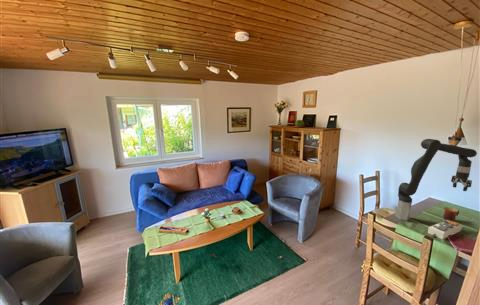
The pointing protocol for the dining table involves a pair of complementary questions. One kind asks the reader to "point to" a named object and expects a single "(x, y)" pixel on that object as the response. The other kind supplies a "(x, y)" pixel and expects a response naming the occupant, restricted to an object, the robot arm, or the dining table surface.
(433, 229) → the power strip
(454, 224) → the rocker
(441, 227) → the rocker
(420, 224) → the dining table surface
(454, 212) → the mug
